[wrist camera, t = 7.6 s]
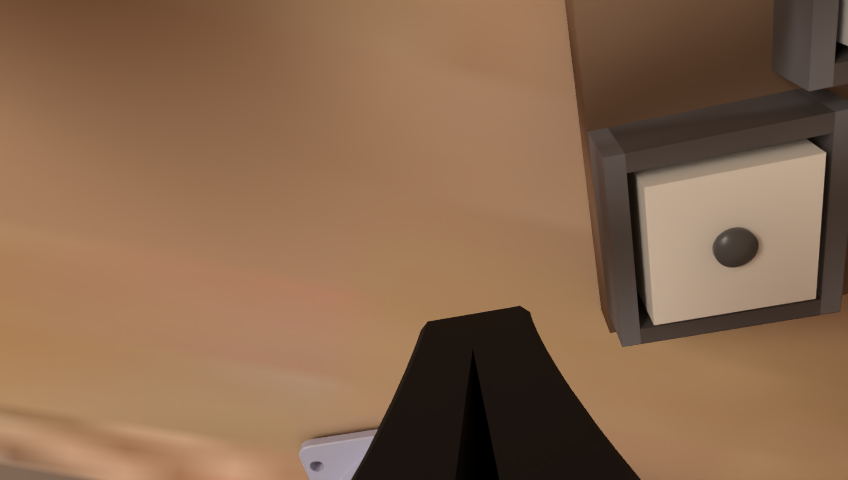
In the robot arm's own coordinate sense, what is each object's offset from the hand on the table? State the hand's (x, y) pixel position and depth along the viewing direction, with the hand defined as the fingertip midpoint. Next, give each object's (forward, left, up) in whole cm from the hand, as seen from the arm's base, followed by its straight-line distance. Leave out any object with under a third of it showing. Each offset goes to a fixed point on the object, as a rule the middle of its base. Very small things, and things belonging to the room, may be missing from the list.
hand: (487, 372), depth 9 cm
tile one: (-3, -6, -9) cm, 11 cm away
